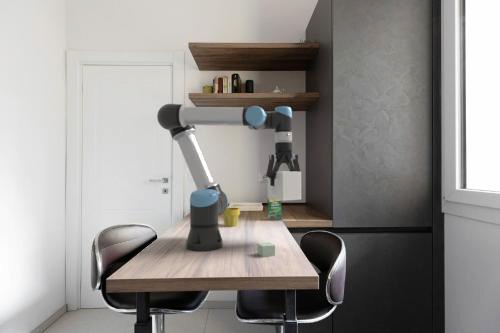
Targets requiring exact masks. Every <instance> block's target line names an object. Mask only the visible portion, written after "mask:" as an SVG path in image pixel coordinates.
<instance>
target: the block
mask: <svg viewBox="0 0 500 333" xmlns="http://www.w3.org/2000/svg"><path fill="white" fill-rule="evenodd" d="M257 255H259V256H261V257H263V258H265V257H267V258H268V257H273V256H276V245H275V244H274V243H271V242H259V243H257Z"/></svg>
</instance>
